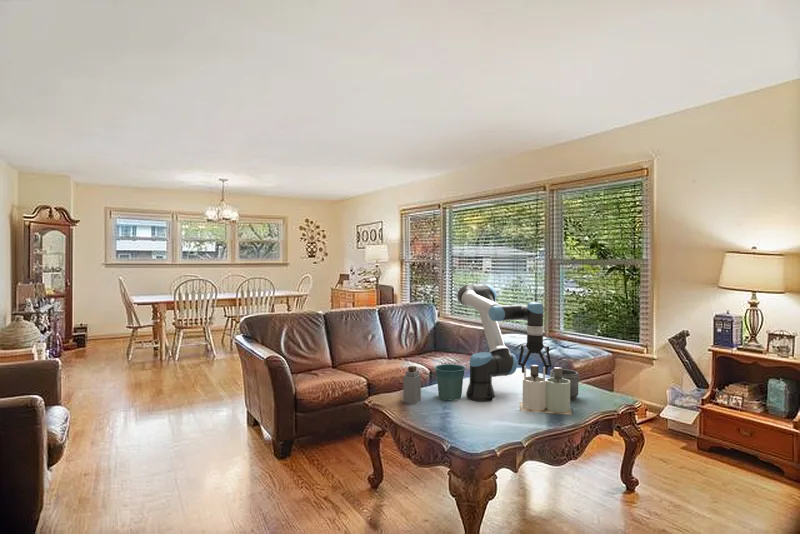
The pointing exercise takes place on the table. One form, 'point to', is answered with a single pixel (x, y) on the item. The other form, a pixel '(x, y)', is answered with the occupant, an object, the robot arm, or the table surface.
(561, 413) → the board
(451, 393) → the flower pot
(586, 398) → the table surface
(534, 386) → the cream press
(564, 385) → the sage press
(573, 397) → the planter
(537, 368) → the press plunger
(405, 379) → the perfume bottle
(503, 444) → the table surface
